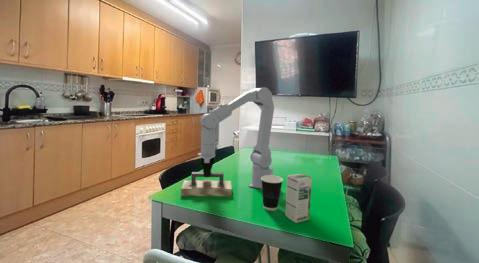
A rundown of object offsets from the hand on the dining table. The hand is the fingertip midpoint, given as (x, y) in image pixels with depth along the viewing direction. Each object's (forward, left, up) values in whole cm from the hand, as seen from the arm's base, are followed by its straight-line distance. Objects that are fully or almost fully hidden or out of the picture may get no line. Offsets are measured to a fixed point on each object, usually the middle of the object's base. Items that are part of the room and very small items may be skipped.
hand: (207, 175), depth 102 cm
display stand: (0, 0, -7) cm, 7 cm away
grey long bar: (0, 0, -3) cm, 3 cm away
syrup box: (-38, +8, -7) cm, 39 cm away
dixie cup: (-28, +4, -7) cm, 29 cm away
